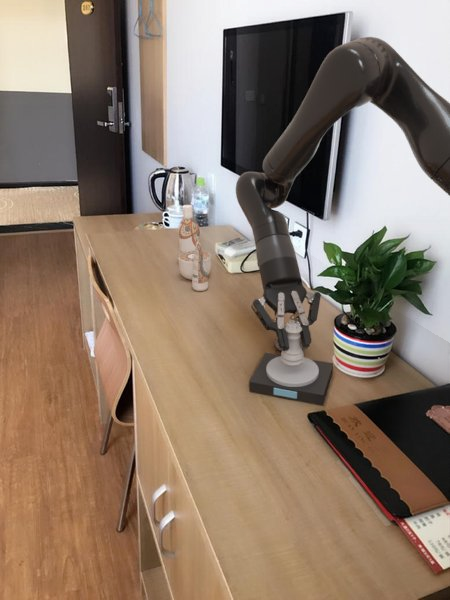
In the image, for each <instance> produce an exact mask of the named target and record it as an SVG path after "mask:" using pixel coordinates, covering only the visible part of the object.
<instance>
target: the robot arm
mask: <svg viewBox="0 0 450 600" xmlns="http://www.w3.org/2000/svg"><path fill="white" fill-rule="evenodd" d="M368 103H371V104H372V105H373V106H375V107H376V108H378V109H379V110H381V111H382V112H383V113H385V115H386V116H387V117H389V118H390V119H391V120H392V121H393V122H394V123H395V124H396V125H397V126H398V128H400V129H401V131H402V133H403V134H404V137H405V138H406V141H407V143H408V145H409V147H410V149H411V151H412V155H413V156H414V158H415V160H416V162H417V164H418V166H419V167H420V170H422V171H423V173H424V174H425V175H426V176H427V177H428V178H429V179H430V180H431V181H432V182H433V183H434V184H436V185H437V186H438V187H439V188H440V189H441V190H442V191H443V192H445V193H446V194H447V196H449V197H450V102H449V101H448V100H446V99H445V98H444V97H443V96H442V95H440V94H439V93H438V92H437V91H436V90H434V88H432V87H431V86H430V85H429V84H428V83H427V82H426V81H425V80H424V79H422V78H421V76H420V75H419V74H418V73H417V72H416V71H415V70H414V69H413V67H412V66H410V65H409V64H408V62H407V61H405V59H404V58H403V56H401V55H400V54H399V53H398V51H396V50H395V48H394V47H392V46H391V45H390V44H389V43H388V42H386V41H385V40H383V39H381V38H378V37H376V36H375V37H374V36H364V37H360V38H357V39H354V40H351V41H349V42H346V43H343V44H341V45H337V46H336V47H335V48H334V49H332V50H331V51H329V53H328V54H327V55H326V57H324V60H323V61H322V63H321V64H320V67H319V69H318V70H317V72H316V74H315V76H314V79H313V80H312V82H311V85H310V87H309V89H308V90H307V92H306V94H305V97H304V99H303V100H302V102H301V104H300V106H299V108H298V110H297V111H296V113H295V115H294V116H293V118H292V120H291V121H290V122H289V124H288V126H287V127H286V129H285V130H284V131H283V132H282V134H281V135H280V137H279V138H278V139H277V141H276V142H275V143H274V145H273V146H272V147H271V148H270V150H269V151H268V153H267V154H266V155H265V157H264V159H263V161H262V170H263V172H259V171H245V172H243V173H242V174H241V175H240V176H239V177H238V179H237V180H236V184H235V197H236V200H237V203H238V205H239V207H240V209H241V211H242V212H243V214H244V217H245V218H246V220H247V222H248V224H249V226H250V228H251V231H252V236H253V241H254V244H255V253H256V260H257V263H256V264H257V267H258V270H259V275H260V279H261V284H262V289H263V293H262V297H261V298H259V299H257V298H255V299H254V300H253V301H252V303H251V305H250V307H251V309H252V311H253V312H254V314H255V316H256V317H257V318H258V320H259V322H260V323H261V324H262V326H263V328H264V329H265V330H266V331H273V332H275V334H276V339H278V344H279V347H280V349H281V348H283V351H288V350H289V343H288V338H287V334H286V329H284V328H285V314H291V315H293V316H292V317H293V318H295V319H296V321H297V322H299V324H300V326H301V327H302V330H301V332H300V335H301V337H300V338H301V342H302V346H303V348H304V349H308V348H309V347H310V346H311V345H310V344H312V334H311V335H310V333H311V330H310V326H312V325H313V324H315V322H317V320H318V316H319V315H318V314H319V309H320V303H321V298H322V294H321V293H320V292H318V291H316V292H310V291H308V290H307V289H306V287H305V286H304V284H303V280H302V275H301V271H300V267H299V263H298V262H299V261H298V259H297V255H296V250H295V246H294V244H293V241H292V239H291V235H290V230H289V226H288V222H287V219H286V216H285V215H284V214H283V213H282V212H280V211H278V210H275V209H276V208H279V207H281V206H282V205H283V204H284V203H286V201H287V198H288V196H289V194H290V191H291V188H292V186H293V184H294V181H295V180H296V178H297V177H298V176H299V175H300V174H301V172H302V171H303V170H304V169H305V168H306V166H307V165H308V164H309V163H310V161H311V160H312V159H313V158H314V156H315V154H316V153H317V150H318V148H319V147H320V143H321V141H322V140H323V137H324V136H325V134H326V133H327V132H328V131H329V130H330V129H331V127H333V126H334V124H335V123H336V122H338V121H339V120H340V119H341V118H342V117H344V116H345V115H346V114H348V113H349V112H351V111H352V110H353V109H356V108H359V107H362V106H364V105H366V104H368ZM305 299H306V300H307V304H308V305H309V308H308V314H307V315H306V310H305V308H304V306H303V303H304V301H305ZM266 305H267V306H268V307H269V308H270V309H271V310H272V311H273V319H272V317H271V316H270V315H269V313H268V311H267V310H266ZM309 330H310V331H309Z"/></svg>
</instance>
